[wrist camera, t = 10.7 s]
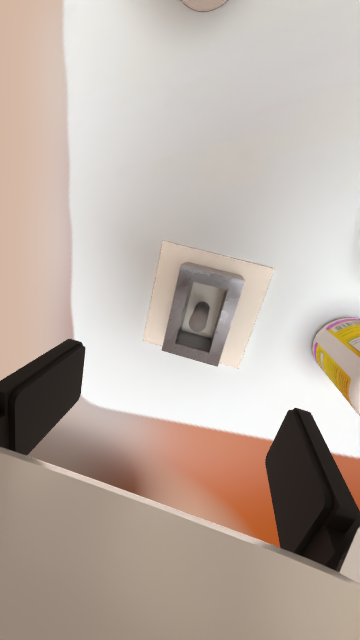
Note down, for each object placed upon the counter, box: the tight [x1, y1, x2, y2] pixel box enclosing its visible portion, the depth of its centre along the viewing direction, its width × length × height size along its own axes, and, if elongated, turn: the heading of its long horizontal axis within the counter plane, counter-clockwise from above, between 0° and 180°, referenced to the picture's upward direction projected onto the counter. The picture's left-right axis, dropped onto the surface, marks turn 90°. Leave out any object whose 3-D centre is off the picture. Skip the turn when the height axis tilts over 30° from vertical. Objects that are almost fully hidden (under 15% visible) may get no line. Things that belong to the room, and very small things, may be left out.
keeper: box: [143, 241, 274, 368], centre depth 25 cm, size 12×12×6 cm
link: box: [162, 262, 245, 367], centre depth 25 cm, size 9×6×4 cm, turn 167°
